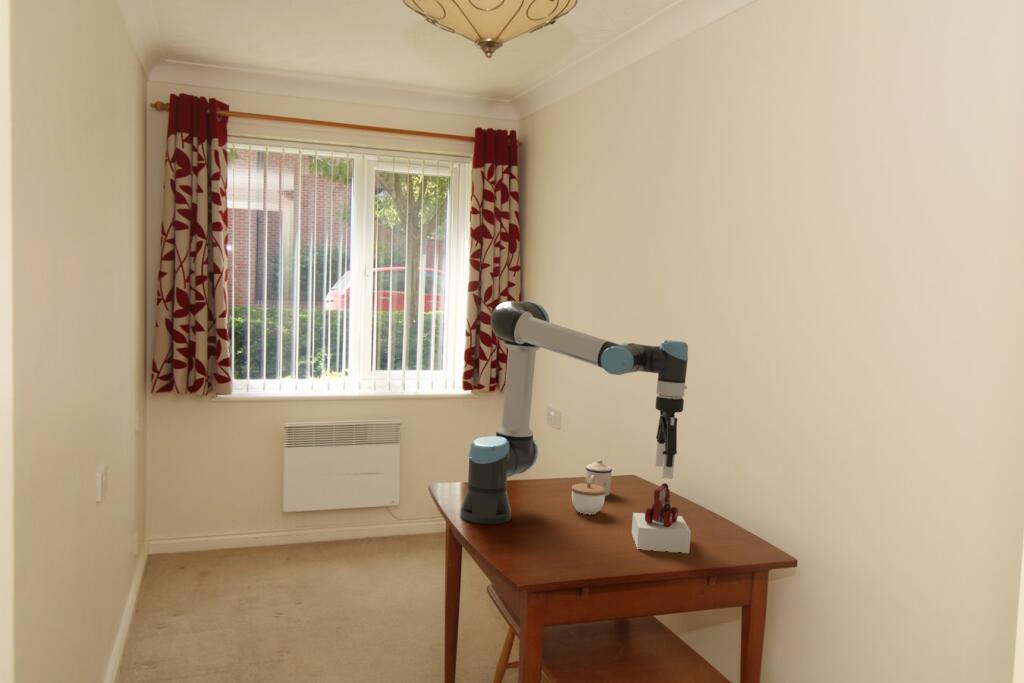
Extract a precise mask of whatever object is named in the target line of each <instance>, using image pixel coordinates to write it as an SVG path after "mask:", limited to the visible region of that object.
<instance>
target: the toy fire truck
mask: <svg viewBox="0 0 1024 683" xmlns="http://www.w3.org/2000/svg"><path fill="white" fill-rule="evenodd" d="M670 495H671V492H670V489H669V484H668V483H665V482H663V483H662V484H661V485H660V486H658V487H657V488H656V489H655V490H654V492H653V504H652V506H651V507H647V508H646V510H645V521H646V522H648V523H651V522H652V521H653V519H654V521H660V522H661V521H662V520H664V525H665V526H668V527H670V526H671V524H672V522H676V520H677V517H678V516H679V509H678V508H677V507H675V506H674V507H673V506H672V507H671V496H670Z"/></svg>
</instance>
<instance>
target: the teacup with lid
mask: <svg viewBox="0 0 1024 683" xmlns="http://www.w3.org/2000/svg"><path fill="white" fill-rule="evenodd" d="M585 471H586V472H585V482H584V483H586V484H587V483H588V482H590V483H591V484H595V485H599V486H602V487H604V488H605V489H606V493H605V497H607V496H609V495H610V494H611V482H612V472H613V469H612V467H611V466H610V465H607V464H606V463H604V462H603V460H602V459H596V461H595V462H592V463H590V464H587V465H586V466H585Z"/></svg>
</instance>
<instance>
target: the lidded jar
mask: <svg viewBox="0 0 1024 683" xmlns="http://www.w3.org/2000/svg"><path fill="white" fill-rule="evenodd" d="M605 493H606V489H605V488H604V487H602V486H599V485H595V484H591V483H590V482H588V483H587V484H586V483H585V482H584V483H583V482H582V483H575V484H573V485H571V500H572V501H571V502H572V504H573V507H574V508H575V509H576V510H577V513H579V512H580V513H579V514H581V513H583V514H582V515H586V514H589V515H591V514H592V515H591V516H593V514H594V515H596V513H598V512H599V511H601V509H602V508H603V506H604V503H605V499H606V496H605ZM589 515H588V516H589Z"/></svg>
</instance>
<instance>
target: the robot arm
mask: <svg viewBox="0 0 1024 683" xmlns="http://www.w3.org/2000/svg"><path fill="white" fill-rule="evenodd" d="M490 327H491V329H492V332H493V333H494V334H495V336H497V337H498V338H499V339H502V340H504V341H503V344H504V346H505V347H506V349H507V360H506V374H505V385H504V394H503V395H504V396H503V405H502V406H503V409H502V416H501V418H502V420H501V425H500V426H499V427H498V428H497V429H496V432H495V435H488V436H481V437H478V438H475V439H474V440H473V441H472V442H471V443H470V448H469V452H468V459H469V460H468V461H469V462H468V477H467V491H466V494H465V497H464V500H463V502H462V504H461V507H460V518H461V519H463V520H464V521H466V522H469V523H474V524H480V525H499V524H505V523H507V522H509V521H510V520H511V518H512V509H511V505H510V500H509V497H508V494H507V493H508V492H507V491H508V490H507V489H508V488H507V487H508V486H507V485H508V478H509V477H512V476H515V475H521V474H523V473H525V472H526V471H528V470H530V469H531V468H532V467H533V466H534V465H535V464H536V462H537V459H538V455H539V452H538V445H537V443H535V440H534V432H533V431H532V430H531V428H530V423H531V422H530V421H531V411H532V410H531V409H532V399H533V398H532V397H533V386H534V377H535V376H534V374H535V364H536V356H537V355H536V354H537V351H538V350H540V349H541V348H542V349H544V350H548V351H550V352H554V353H557V354H560V355H562V356H565V357H568V358H572V359H574V360H578V361H581V362H582V363H587V364H590V365H593V366H596V367H598V368H601V369H603V370H604V371H605V372H606V373H608V374H609V375H616V376H621V375H626V374H629V373H636V372H637V373H638V372H643V373H652V374H657V381H656V382H657V383H656V394H657V396H656V398H655V409H656V410H657V411H659V412H660V415H659V421H658V426H657V432H656V436H655V438H656V442H657V443H656V451H655V463H654V464H655V467H662V475H661V478H662V479H671V480H672V479H673V478H674V466H675V457H676V455H677V453H678V450H677V445H678V444H677V443H678V442H677V435H678V434H677V432H678V430H677V429H678V428H677V426H678V417H676V415H675V414H676V413H682V412H683V410H684V402H685V400H684V398H683V397H684V396H685V390H687V389H688V386H687V385H686V379H687V368H688V360H689V354H688V353H689V346H688V343H687V342H685V341H680V340H669V339H664V340H661V341H660V345H659V346H657V345H656V346H655V345H645V344H639V343H635V342H632V343H631V342H630V343H626V342H624V343H622V344H618V343H616V342H612V341H609V340H606V339H602V338H600V337H597V336H593V335H590V334H587V333H584V332H581V331H577V330H575V329H571V328H568V327H565V326H562V325H559V324H555V323H553V322H551V321H550V317H549V314H548V312H547V311H546V309H545V308H544V307H543V306H542V305H541V304H539V303H536V302H532V301H505V302H501V303H500V304H498V305H497V306H496V307H495V308H494V309H493V311H492V313H491V315H490Z"/></svg>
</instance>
